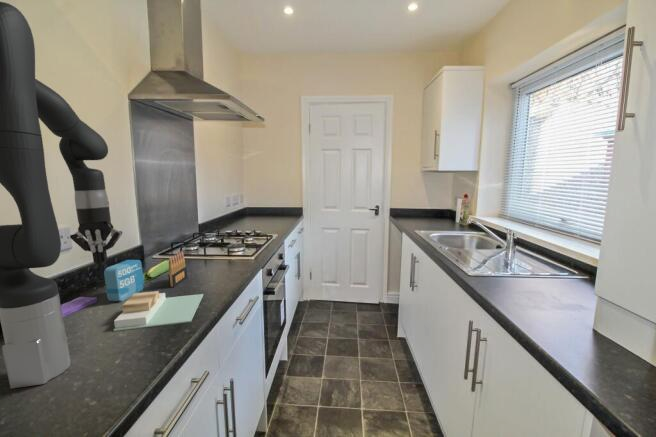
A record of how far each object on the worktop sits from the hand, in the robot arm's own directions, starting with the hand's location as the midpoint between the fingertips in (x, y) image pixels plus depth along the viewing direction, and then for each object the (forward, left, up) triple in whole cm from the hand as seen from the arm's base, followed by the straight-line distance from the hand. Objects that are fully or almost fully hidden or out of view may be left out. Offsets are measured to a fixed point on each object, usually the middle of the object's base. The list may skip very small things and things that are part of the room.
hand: (101, 263), depth 89 cm
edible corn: (+39, -2, -18) cm, 43 cm away
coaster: (0, -10, -14) cm, 17 cm away
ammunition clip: (+26, -14, -17) cm, 34 cm away
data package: (+17, +2, -17) cm, 24 cm away
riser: (0, -10, -17) cm, 19 cm away
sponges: (+10, +15, -18) cm, 26 cm away
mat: (0, -16, -17) cm, 23 cm away
